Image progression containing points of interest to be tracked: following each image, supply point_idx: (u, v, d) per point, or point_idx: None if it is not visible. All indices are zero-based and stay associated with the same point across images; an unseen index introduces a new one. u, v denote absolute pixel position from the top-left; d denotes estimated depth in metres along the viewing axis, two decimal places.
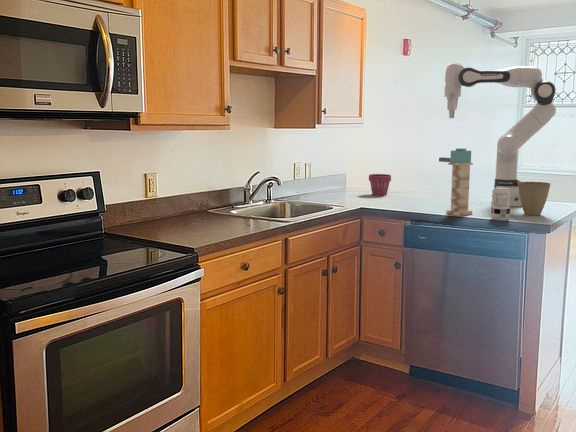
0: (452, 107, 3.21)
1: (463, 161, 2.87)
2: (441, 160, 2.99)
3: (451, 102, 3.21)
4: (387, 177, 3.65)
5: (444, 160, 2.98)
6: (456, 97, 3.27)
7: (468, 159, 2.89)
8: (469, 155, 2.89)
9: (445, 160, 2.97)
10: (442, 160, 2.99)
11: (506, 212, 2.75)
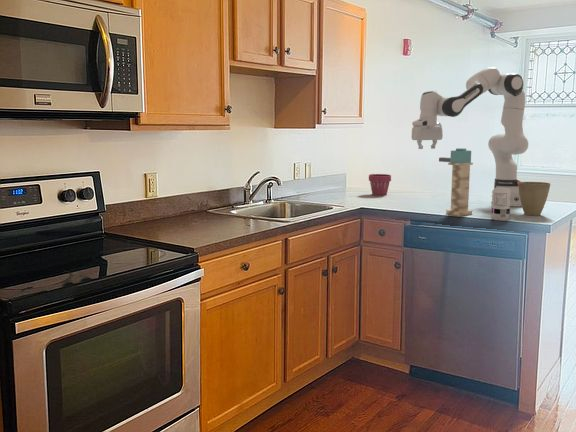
0: None
1: (463, 161, 2.87)
2: (441, 160, 2.99)
3: None
4: (387, 177, 3.65)
5: (444, 160, 2.98)
6: None
7: (468, 159, 2.89)
8: (469, 155, 2.89)
9: (445, 160, 2.97)
10: (442, 160, 2.99)
11: (506, 212, 2.75)
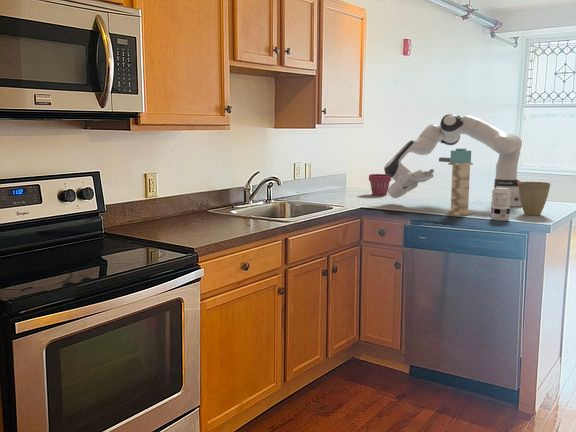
0: None
1: (463, 161, 2.87)
2: (441, 160, 2.99)
3: None
4: (387, 177, 3.65)
5: (444, 160, 2.98)
6: None
7: (468, 159, 2.89)
8: (469, 155, 2.89)
9: (445, 160, 2.97)
10: (442, 160, 2.99)
11: (506, 212, 2.75)
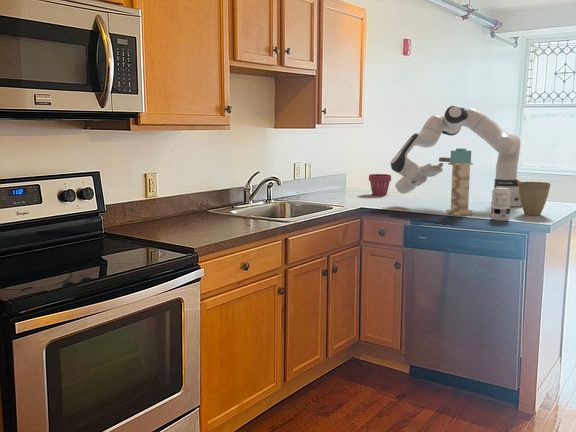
0: None
1: (463, 161, 2.87)
2: (441, 160, 2.99)
3: None
4: (387, 177, 3.65)
5: (444, 160, 2.98)
6: None
7: (468, 159, 2.89)
8: (469, 155, 2.89)
9: (445, 160, 2.97)
10: (442, 160, 2.99)
11: (506, 212, 2.75)
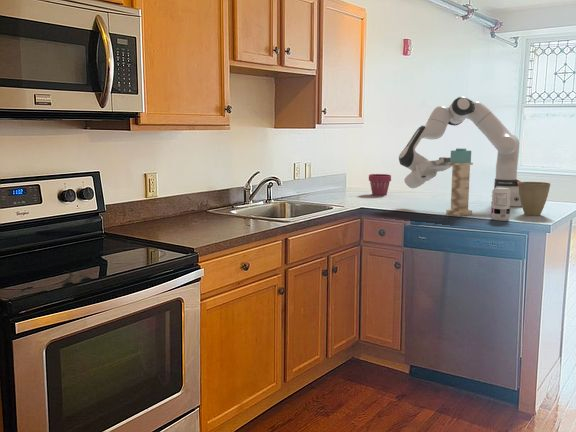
0: None
1: (463, 161, 2.87)
2: None
3: None
4: (387, 177, 3.65)
5: None
6: None
7: (468, 159, 2.89)
8: (469, 155, 2.89)
9: (445, 160, 2.97)
10: None
11: (506, 212, 2.75)
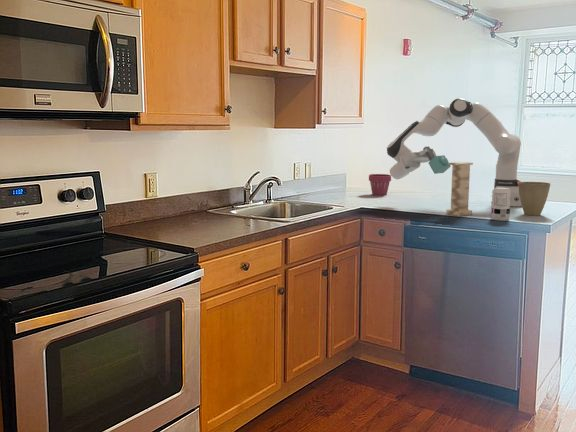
0: None
1: (437, 172, 3.02)
2: None
3: None
4: (387, 177, 3.65)
5: (426, 153, 3.07)
6: None
7: (443, 171, 3.03)
8: (446, 169, 3.02)
9: (427, 154, 3.06)
10: None
11: (506, 212, 2.75)
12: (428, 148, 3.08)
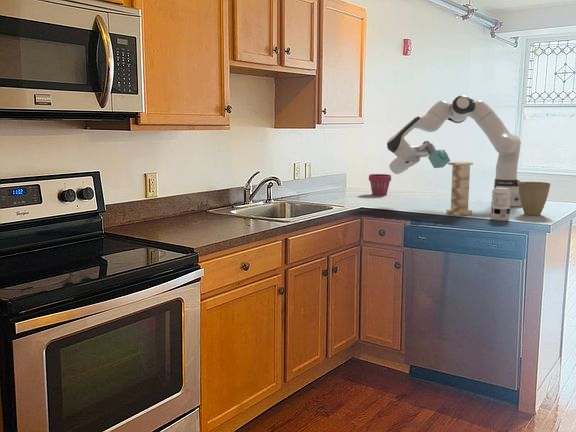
0: None
1: (437, 166, 3.02)
2: None
3: None
4: (387, 177, 3.65)
5: (426, 148, 3.07)
6: None
7: (443, 165, 3.03)
8: (445, 163, 3.02)
9: (427, 148, 3.06)
10: None
11: (506, 212, 2.75)
12: (428, 142, 3.08)
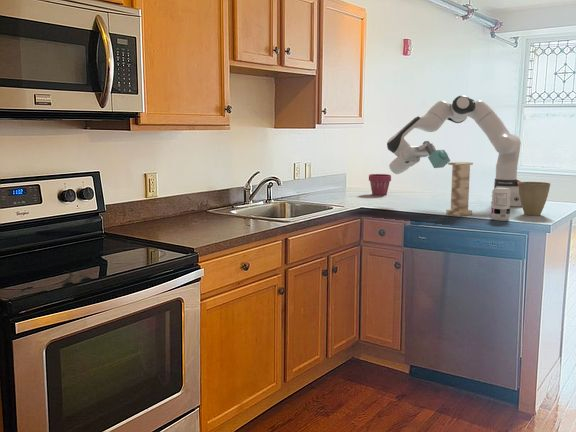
0: None
1: (437, 166, 3.02)
2: None
3: None
4: (387, 177, 3.65)
5: (426, 148, 3.07)
6: None
7: (443, 165, 3.03)
8: (445, 163, 3.02)
9: (427, 148, 3.06)
10: None
11: (506, 212, 2.75)
12: (428, 142, 3.08)
